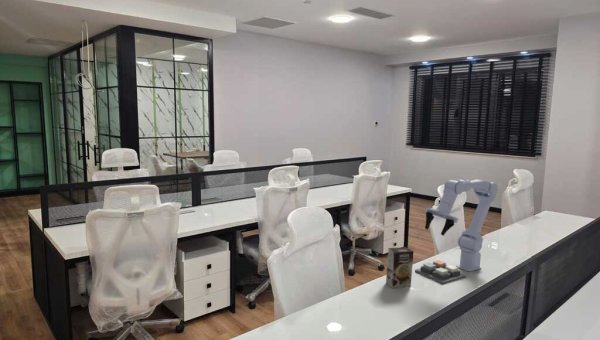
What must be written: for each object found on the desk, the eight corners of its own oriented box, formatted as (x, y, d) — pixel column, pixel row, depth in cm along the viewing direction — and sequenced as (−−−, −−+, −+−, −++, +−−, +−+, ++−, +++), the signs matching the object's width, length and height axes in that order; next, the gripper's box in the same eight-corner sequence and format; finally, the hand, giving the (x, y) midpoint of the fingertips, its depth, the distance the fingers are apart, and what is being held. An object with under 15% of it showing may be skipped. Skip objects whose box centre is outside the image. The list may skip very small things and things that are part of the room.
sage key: (440, 271, 189) (441, 267, 188) (447, 274, 185) (448, 270, 185) (435, 273, 187) (435, 269, 186) (442, 276, 183) (442, 272, 183)
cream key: (450, 268, 192) (451, 264, 192) (457, 271, 189) (458, 267, 189) (445, 270, 190) (445, 266, 190) (452, 273, 187) (452, 269, 187)
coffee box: (392, 288, 174) (394, 252, 172) (385, 282, 180) (387, 247, 178) (411, 287, 176) (414, 251, 174) (403, 280, 183) (406, 246, 180)
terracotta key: (438, 264, 198) (438, 260, 198) (445, 266, 195) (445, 262, 195) (433, 265, 196) (433, 261, 196) (439, 268, 193) (440, 264, 192)
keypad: (437, 265, 202) (438, 260, 202) (465, 277, 189) (466, 271, 188) (415, 271, 194) (415, 266, 193) (442, 284, 180) (443, 278, 180)
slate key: (428, 266, 195) (429, 262, 194) (435, 269, 191) (435, 265, 191) (423, 268, 192) (423, 264, 192) (429, 271, 189) (430, 266, 189)
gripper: (428, 196, 185) (416, 223, 183) (459, 206, 176) (447, 234, 174) (433, 202, 190) (421, 228, 188) (463, 212, 181) (451, 239, 179)
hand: (434, 231), depth 181 cm, fingers open, 7 cm apart
